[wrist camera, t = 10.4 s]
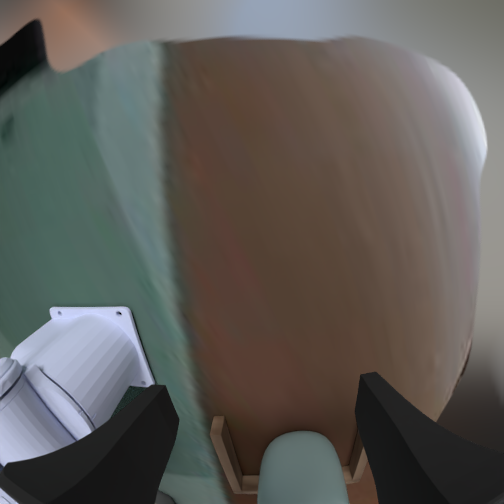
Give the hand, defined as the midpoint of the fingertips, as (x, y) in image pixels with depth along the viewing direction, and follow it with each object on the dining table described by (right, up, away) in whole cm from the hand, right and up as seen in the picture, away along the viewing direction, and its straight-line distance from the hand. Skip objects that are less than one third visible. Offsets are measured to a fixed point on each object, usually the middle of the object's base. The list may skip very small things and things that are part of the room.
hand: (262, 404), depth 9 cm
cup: (+4, -14, +14) cm, 20 cm away
